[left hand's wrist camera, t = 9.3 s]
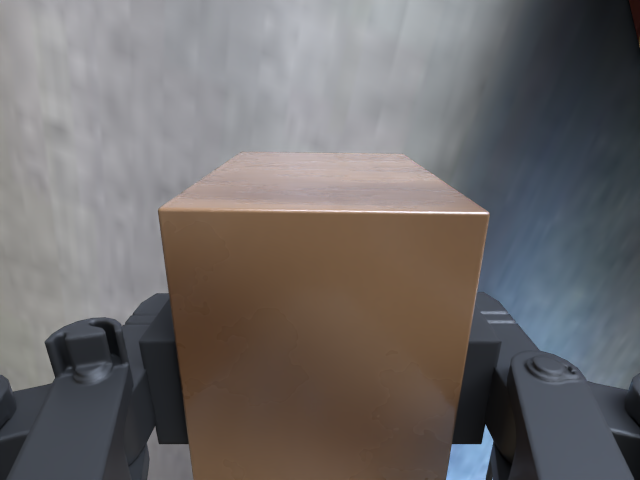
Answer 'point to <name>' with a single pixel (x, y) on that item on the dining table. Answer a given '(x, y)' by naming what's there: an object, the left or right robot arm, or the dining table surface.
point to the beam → (321, 315)
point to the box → (636, 16)
